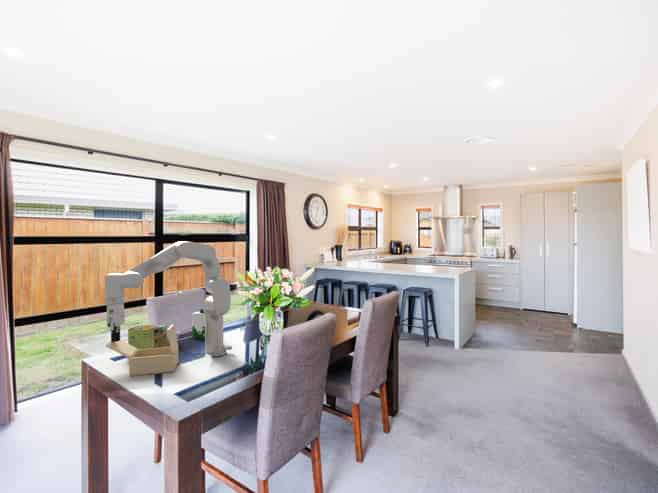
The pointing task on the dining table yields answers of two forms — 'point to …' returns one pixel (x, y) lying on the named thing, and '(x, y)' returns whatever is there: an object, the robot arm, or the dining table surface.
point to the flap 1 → (122, 348)
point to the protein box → (148, 336)
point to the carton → (153, 361)
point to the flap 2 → (172, 338)
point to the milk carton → (198, 324)
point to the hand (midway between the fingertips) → (115, 341)
